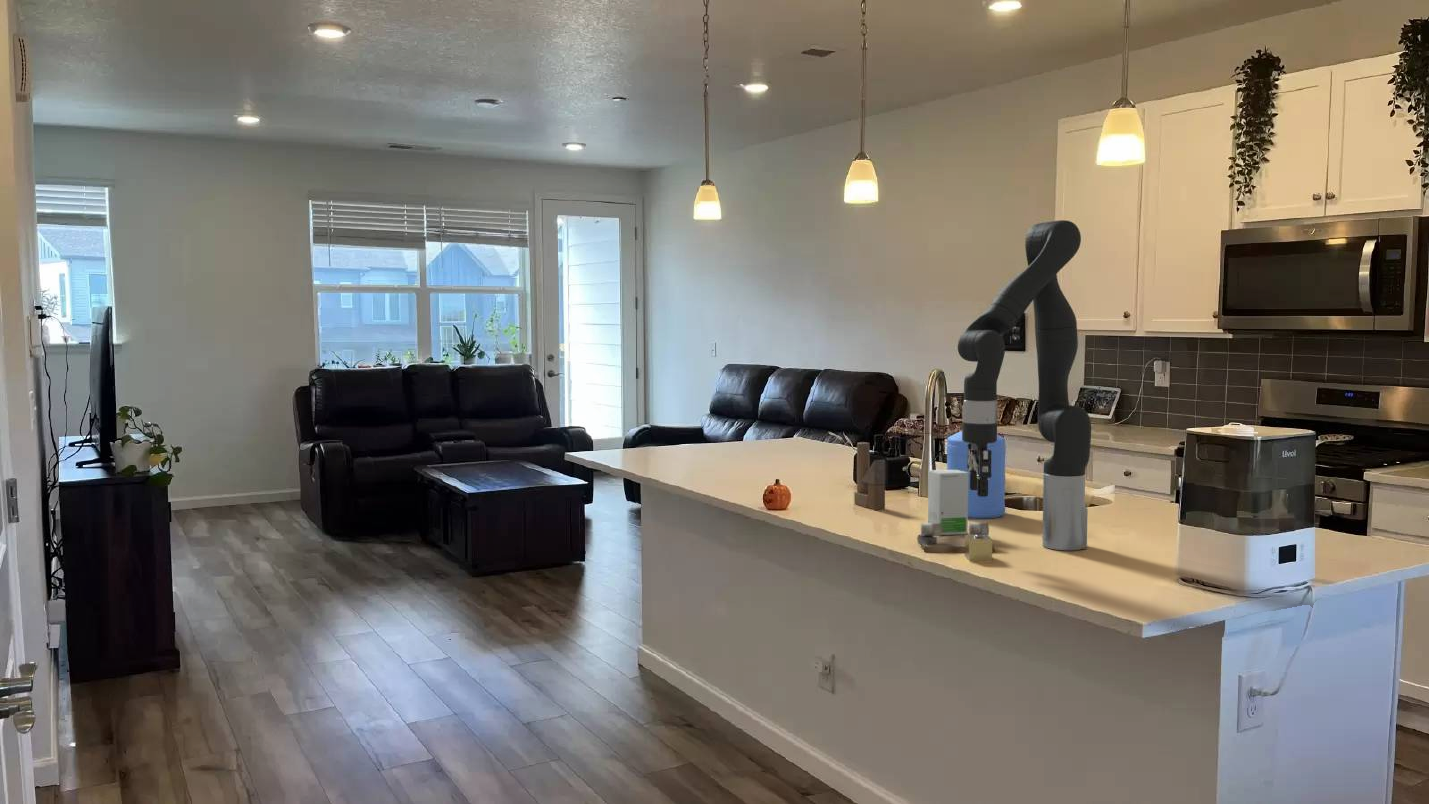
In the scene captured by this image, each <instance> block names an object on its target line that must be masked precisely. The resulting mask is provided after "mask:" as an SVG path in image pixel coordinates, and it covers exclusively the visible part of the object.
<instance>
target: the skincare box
mask: <svg viewBox="0 0 1429 804" xmlns="http://www.w3.org/2000/svg"><path fill="white" fill-rule="evenodd" d="M927 491H928V492H927V493H928V494H927V495H928V497H927V502H928V503H927V523H941V524H942V536H949V535H951V536H952V535H954V536H955V535H968V533H969V532H968V531H969V530H968V529H969V524H968V521H969V520H968V519H969V518H968V472H964V471H960V470H947V469H929V470H928V490H927Z"/></svg>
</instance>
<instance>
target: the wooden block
mask: <svg viewBox="0 0 1429 804" xmlns="http://www.w3.org/2000/svg"><path fill="white" fill-rule="evenodd" d="M870 447H871V446H870V442H864V441H863V442H861V441H860V442H857V444H856V491H854V493H853V494H854V499H853V500H854V503H853V504H855V505H856V506H859V507H864V508H866V507H867V509H869V510H872V509H873V511H881V509H882V510H885V509H886V486H885V485H886V459H876V460H873V462H872V463H871V464H870V461H871V460H870V457H871V455H870V453H871V452H870ZM870 465H871V466H870Z"/></svg>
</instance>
